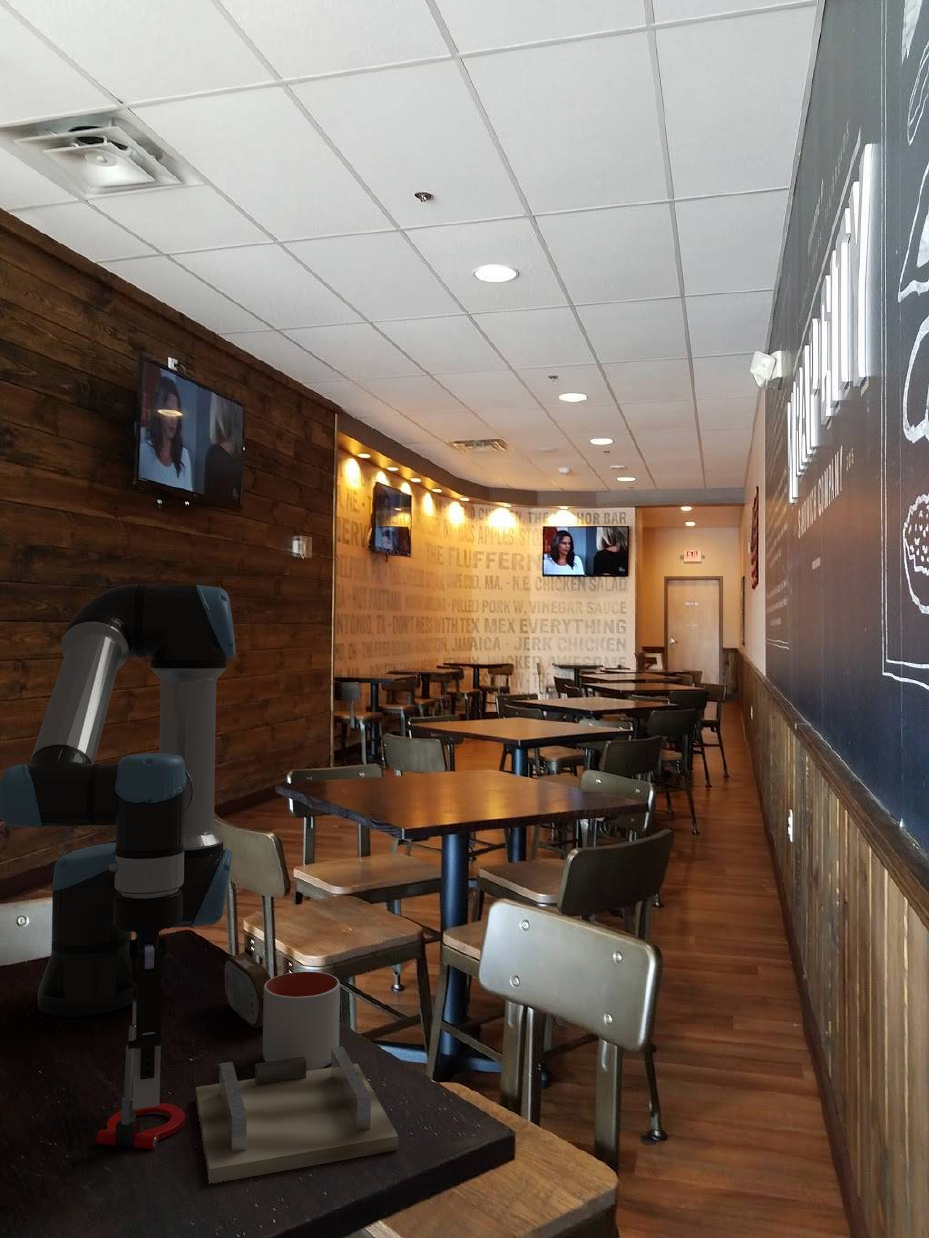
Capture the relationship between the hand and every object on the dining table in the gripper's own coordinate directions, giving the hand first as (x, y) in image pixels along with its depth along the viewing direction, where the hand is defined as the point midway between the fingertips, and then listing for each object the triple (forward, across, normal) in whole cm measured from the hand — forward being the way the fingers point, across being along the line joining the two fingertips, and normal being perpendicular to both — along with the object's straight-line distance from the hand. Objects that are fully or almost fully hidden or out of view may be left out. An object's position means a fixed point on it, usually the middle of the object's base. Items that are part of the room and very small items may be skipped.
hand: (144, 1079), depth 106 cm
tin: (+5, -29, +15) cm, 33 cm away
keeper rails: (+4, +3, +16) cm, 17 cm away
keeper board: (+6, +4, +16) cm, 18 cm away
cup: (+6, -12, +20) cm, 24 cm away
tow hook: (+6, 0, 0) cm, 6 cm away
